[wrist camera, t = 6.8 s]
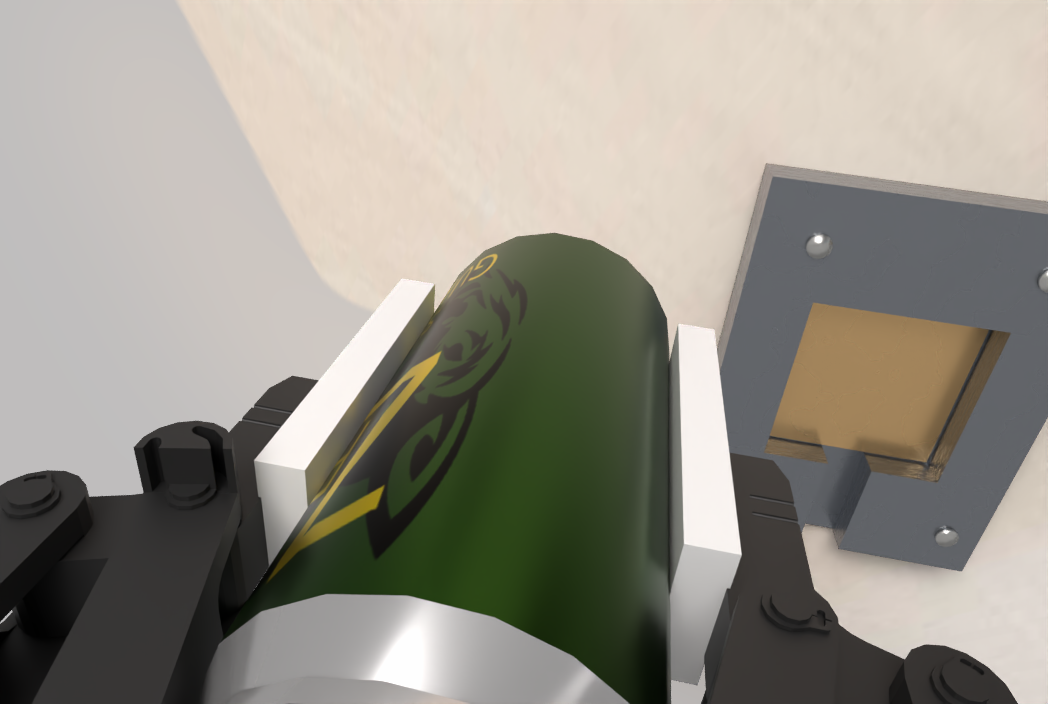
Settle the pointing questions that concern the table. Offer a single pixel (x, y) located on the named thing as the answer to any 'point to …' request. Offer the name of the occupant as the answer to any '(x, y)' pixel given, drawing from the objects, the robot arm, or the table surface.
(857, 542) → the chassis plate
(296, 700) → the beer can
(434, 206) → the table surface
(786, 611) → the robot arm
